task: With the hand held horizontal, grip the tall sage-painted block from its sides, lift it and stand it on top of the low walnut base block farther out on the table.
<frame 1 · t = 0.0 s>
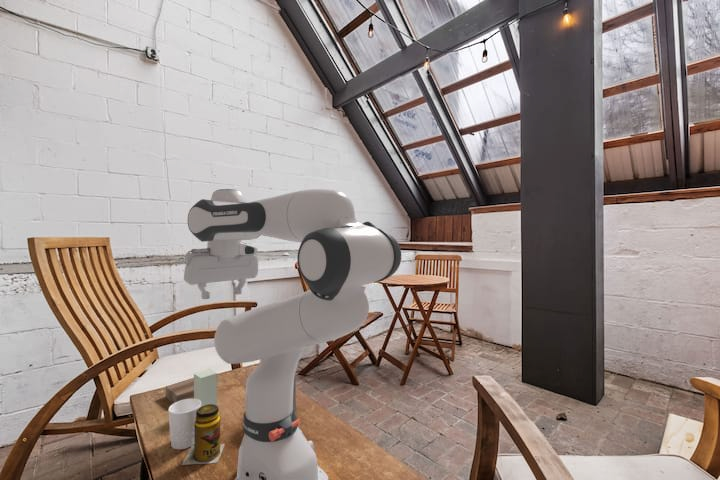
hand: (222, 296, 96), 39 cm above the table, tool pointing down, fingers open, 8 cm apart
pillar candle: (279, 416, 106), on the table
condiment: (204, 455, 87), on the table
white cup: (185, 442, 92), on the table
sage block: (205, 410, 109), on the table
walnut base: (186, 397, 118), on the table
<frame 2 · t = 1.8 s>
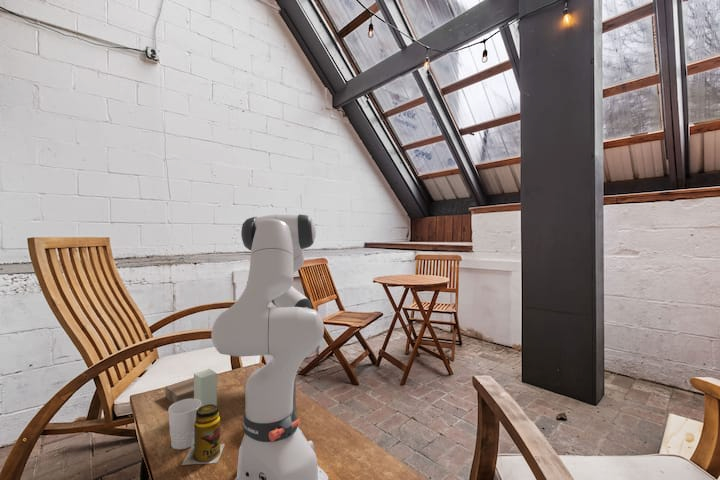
hand: (240, 338, 117), 20 cm above the table, tool horizontal, fingers open, 8 cm apart
nothing on the table moved.
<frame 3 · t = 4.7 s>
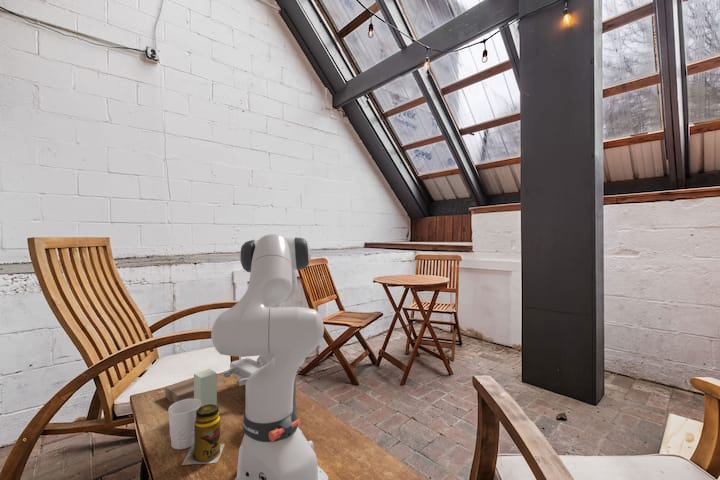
hand: (230, 378, 115), 7 cm above the table, tool horizontal, fingers open, 8 cm apart
nothing on the table moved.
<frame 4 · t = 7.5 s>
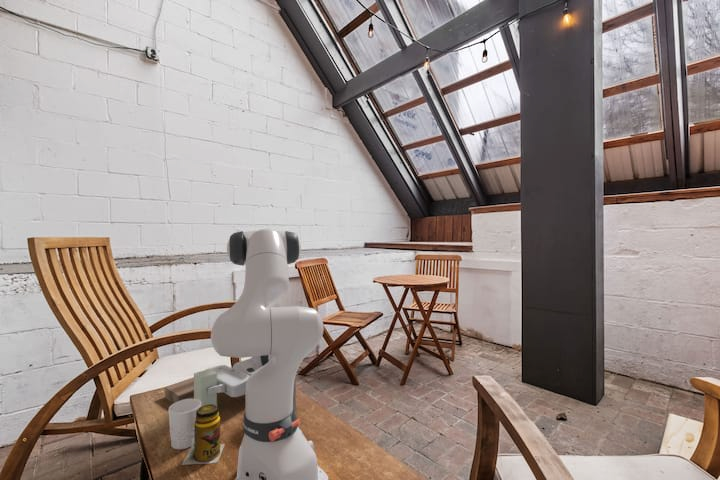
hand: (202, 388, 108), 8 cm above the table, tool horizontal, fingers closed on sage block, 5 cm apart
sage block: (205, 410, 109), on the table, touching gripper
everything else where it was.
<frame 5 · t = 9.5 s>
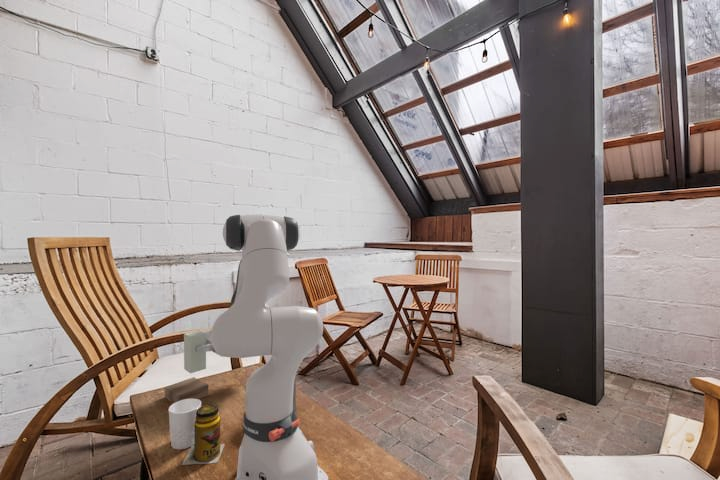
hand: (192, 347, 113), 18 cm above the table, tool horizontal, fingers closed on sage block, 5 cm apart
sage block: (195, 368, 114), point 11 cm above the table, touching gripper
everything else where it was.
when the fingers open (13 cm above the table, at t = 11.7 s): sage block drops 1 cm, resting on walnut base.
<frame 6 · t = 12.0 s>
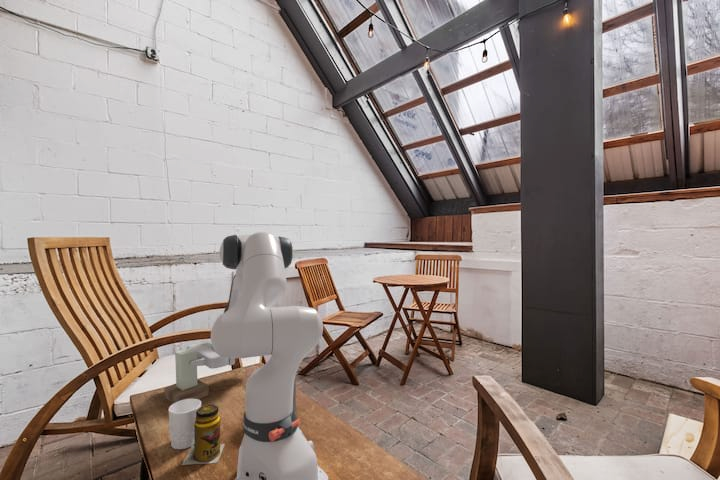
hand: (184, 360, 117), 13 cm above the table, tool horizontal, fingers open, 8 cm apart
sage block: (186, 385, 118), point 4 cm above the table, touching walnut base
walnut base: (186, 397, 118), on the table, touching sage block
everything else where it was.
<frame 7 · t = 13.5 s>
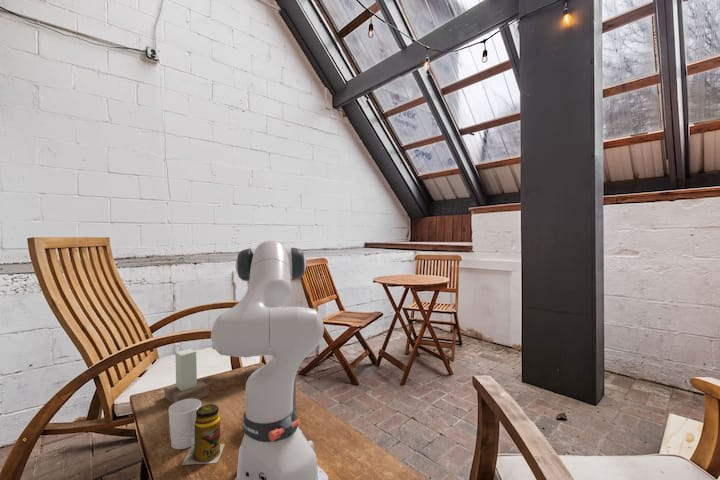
hand: (218, 350, 126), 13 cm above the table, tool horizontal, fingers open, 8 cm apart
nothing on the table moved.
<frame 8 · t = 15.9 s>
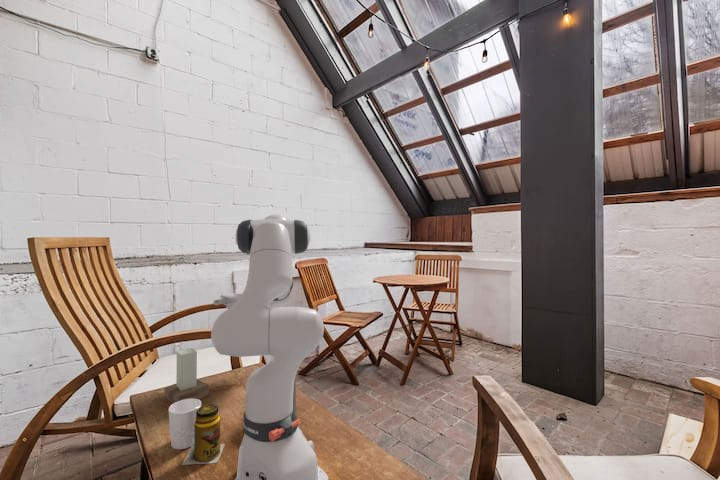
hand: (220, 304, 126), 30 cm above the table, tool horizontal, fingers open, 8 cm apart
nothing on the table moved.
at the end: sage block inside the target area on the walnut base (0.1 cm from its centre), point 4.1 cm above the walnut base's base; sage block tilted 1°; the gripper is holding nothing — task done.
